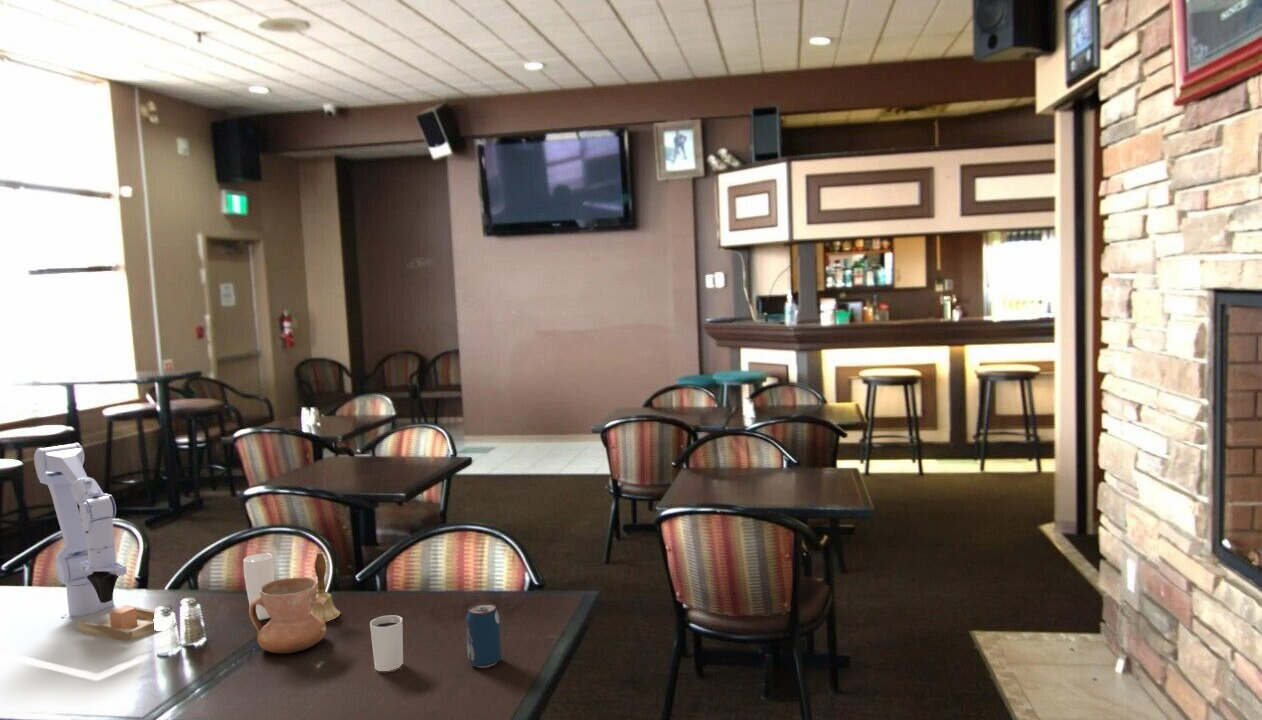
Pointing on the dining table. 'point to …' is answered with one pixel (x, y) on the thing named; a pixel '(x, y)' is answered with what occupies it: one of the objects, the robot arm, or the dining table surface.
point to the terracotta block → (123, 617)
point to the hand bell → (323, 593)
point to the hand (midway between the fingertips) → (106, 601)
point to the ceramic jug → (289, 615)
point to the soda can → (483, 634)
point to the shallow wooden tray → (122, 634)
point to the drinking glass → (258, 578)
